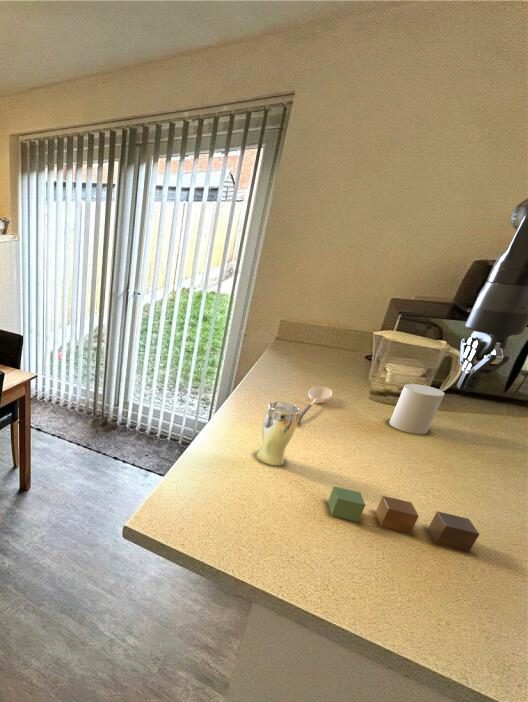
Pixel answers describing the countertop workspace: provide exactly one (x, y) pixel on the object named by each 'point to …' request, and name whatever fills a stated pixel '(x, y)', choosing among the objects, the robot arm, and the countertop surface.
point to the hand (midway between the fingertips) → (464, 389)
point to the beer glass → (277, 431)
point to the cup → (416, 408)
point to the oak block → (396, 514)
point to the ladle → (317, 397)
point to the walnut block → (453, 531)
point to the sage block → (346, 504)
